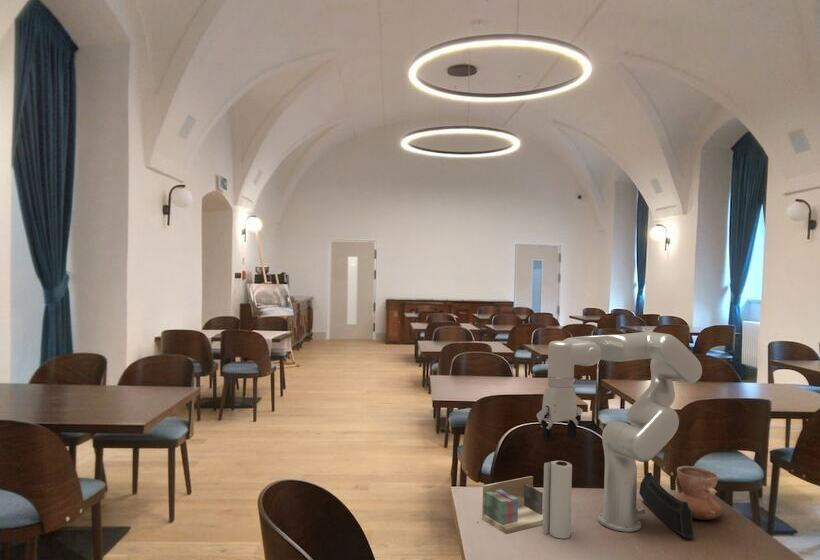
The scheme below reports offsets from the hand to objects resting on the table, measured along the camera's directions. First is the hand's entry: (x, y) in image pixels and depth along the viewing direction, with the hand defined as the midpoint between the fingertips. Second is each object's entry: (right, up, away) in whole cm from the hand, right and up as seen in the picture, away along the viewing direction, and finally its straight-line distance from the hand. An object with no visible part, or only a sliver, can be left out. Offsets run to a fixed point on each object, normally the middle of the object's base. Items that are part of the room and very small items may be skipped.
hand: (559, 439), depth 167 cm
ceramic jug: (+49, -30, +17) cm, 60 cm away
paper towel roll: (0, -29, 0) cm, 29 cm away
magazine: (+37, -30, +13) cm, 49 cm away
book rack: (-10, -28, +9) cm, 31 cm away
